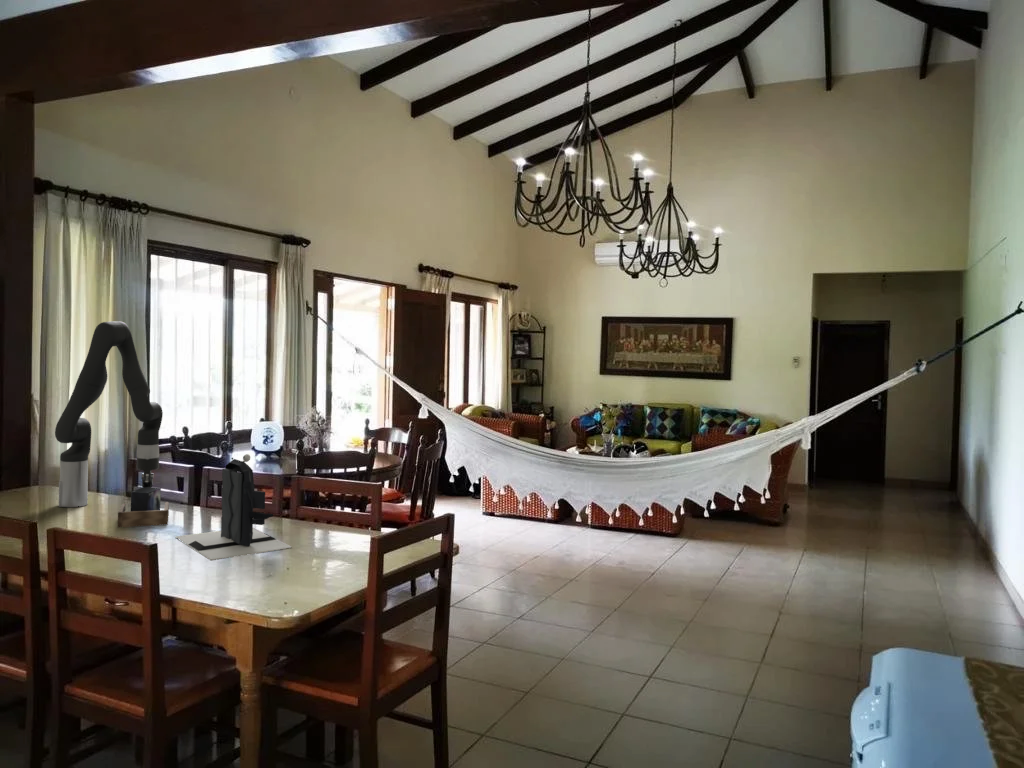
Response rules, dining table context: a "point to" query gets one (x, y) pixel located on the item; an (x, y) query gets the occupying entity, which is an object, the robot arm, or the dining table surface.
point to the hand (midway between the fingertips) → (147, 502)
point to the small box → (145, 499)
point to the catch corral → (143, 517)
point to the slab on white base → (236, 518)
